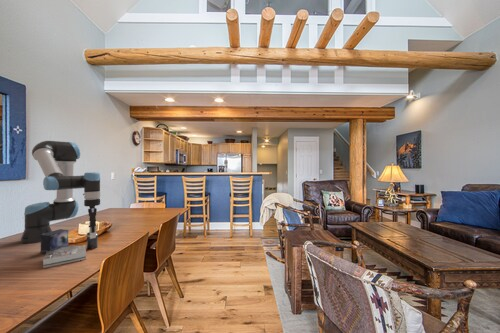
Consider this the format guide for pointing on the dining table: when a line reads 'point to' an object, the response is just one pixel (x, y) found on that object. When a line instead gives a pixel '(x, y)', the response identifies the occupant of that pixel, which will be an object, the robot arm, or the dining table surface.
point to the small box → (54, 240)
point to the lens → (92, 242)
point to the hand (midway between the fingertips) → (92, 235)
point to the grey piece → (64, 255)
